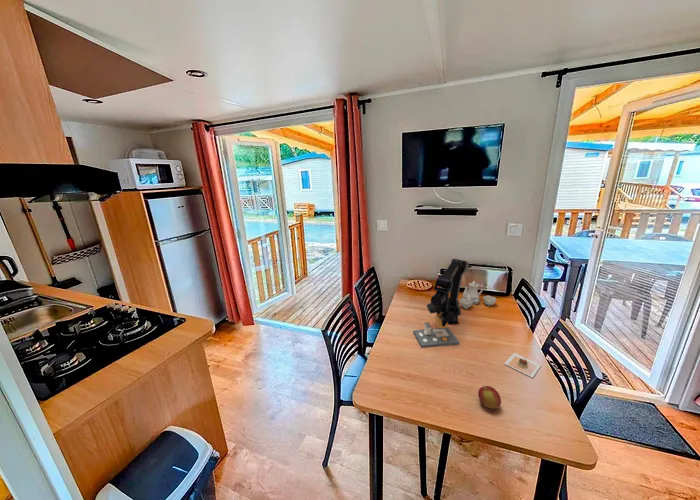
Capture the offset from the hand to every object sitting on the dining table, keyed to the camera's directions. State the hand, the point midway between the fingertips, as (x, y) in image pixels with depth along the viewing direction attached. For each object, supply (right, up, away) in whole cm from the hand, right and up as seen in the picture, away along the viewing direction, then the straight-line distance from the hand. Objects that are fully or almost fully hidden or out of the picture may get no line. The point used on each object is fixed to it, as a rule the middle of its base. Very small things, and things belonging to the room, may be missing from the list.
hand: (441, 323), depth 150 cm
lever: (-8, -6, +1) cm, 10 cm away
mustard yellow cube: (0, -1, 0) cm, 1 cm away
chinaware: (+35, +4, +35) cm, 49 cm away
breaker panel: (-4, -8, -1) cm, 9 cm away
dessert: (+31, -14, -23) cm, 41 cm away
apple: (+4, -21, -43) cm, 48 cm away
